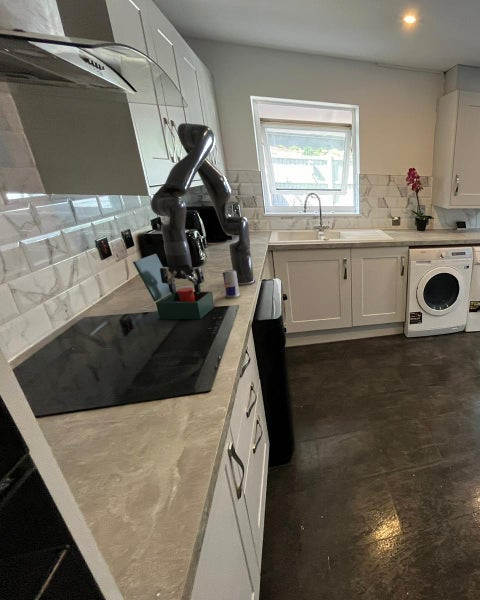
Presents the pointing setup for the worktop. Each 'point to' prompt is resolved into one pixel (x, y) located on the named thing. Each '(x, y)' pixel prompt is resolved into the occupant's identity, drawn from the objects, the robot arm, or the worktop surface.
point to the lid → (152, 276)
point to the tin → (186, 295)
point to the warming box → (185, 306)
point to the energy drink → (231, 283)
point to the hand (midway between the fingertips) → (185, 293)
